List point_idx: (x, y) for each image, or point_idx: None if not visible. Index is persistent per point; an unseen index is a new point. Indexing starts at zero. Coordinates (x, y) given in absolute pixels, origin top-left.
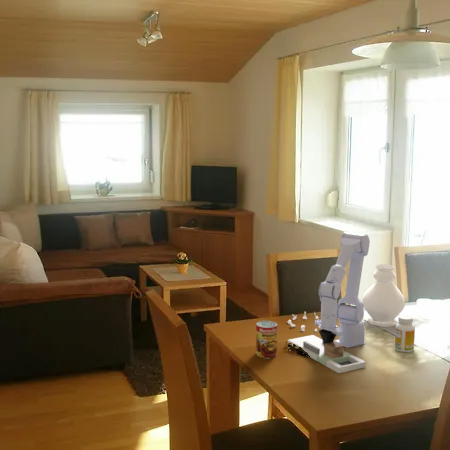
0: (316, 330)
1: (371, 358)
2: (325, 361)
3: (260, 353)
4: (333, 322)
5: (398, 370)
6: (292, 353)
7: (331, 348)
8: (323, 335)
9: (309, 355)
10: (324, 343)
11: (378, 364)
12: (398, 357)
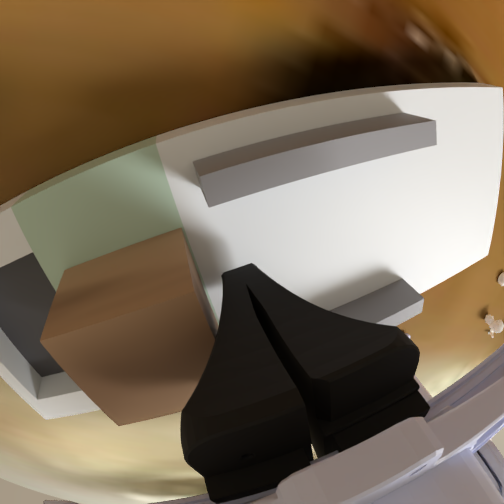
0: (501, 281)
1: (164, 433)
2: (27, 196)
3: None
4: None
5: (46, 456)
6: (365, 15)
7: (58, 328)
8: (277, 365)
9: (268, 105)
10: (253, 295)
11: (93, 436)
12: (169, 477)
